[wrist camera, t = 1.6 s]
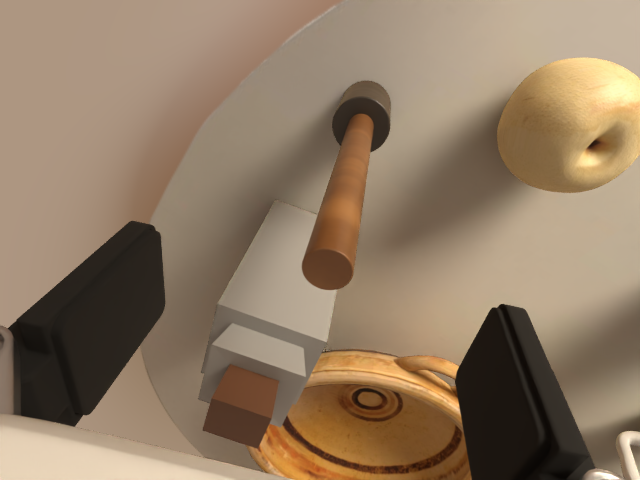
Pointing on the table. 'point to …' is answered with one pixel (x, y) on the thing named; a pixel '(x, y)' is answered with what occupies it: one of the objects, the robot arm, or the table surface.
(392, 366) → the ceramic bowl
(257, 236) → the perfume bottle
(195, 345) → the table surface
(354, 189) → the brush
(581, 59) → the apple
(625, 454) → the mug
